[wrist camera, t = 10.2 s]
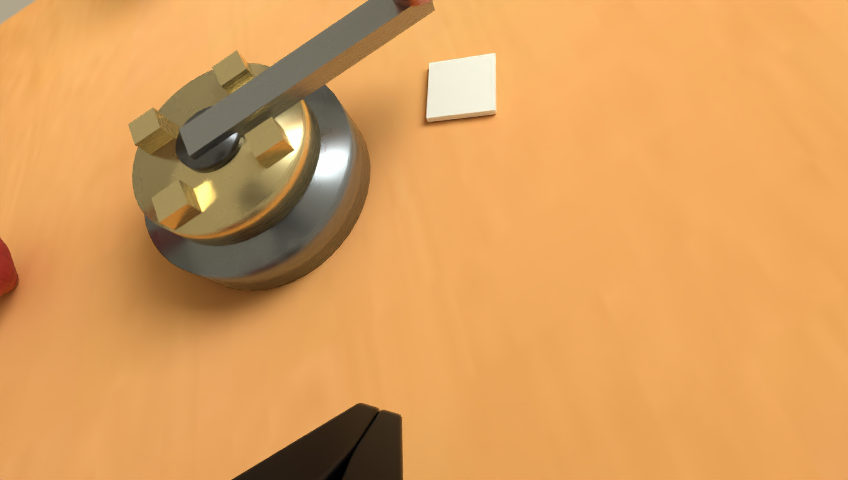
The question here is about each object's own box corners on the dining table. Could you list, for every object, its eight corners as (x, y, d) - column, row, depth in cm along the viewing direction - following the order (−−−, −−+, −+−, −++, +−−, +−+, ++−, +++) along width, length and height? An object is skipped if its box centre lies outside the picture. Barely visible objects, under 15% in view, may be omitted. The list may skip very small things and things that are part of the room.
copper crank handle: (187, 282, 23) (-132, 167, 12) (144, 150, 28) (-120, -21, 17) (509, 69, 23) (467, -248, 12) (414, -33, 27) (319, -332, 16)
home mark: (496, 114, 26) (495, 109, 25) (428, 122, 27) (426, 118, 27) (495, 57, 27) (495, 53, 27) (430, 67, 28) (429, 63, 28)
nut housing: (283, 332, 25) (249, 322, 22) (146, 231, 30) (105, 212, 27) (411, 140, 27) (394, 109, 24) (262, 77, 32) (235, 45, 29)
